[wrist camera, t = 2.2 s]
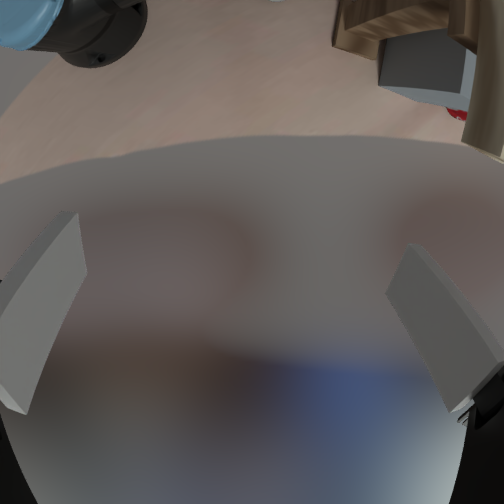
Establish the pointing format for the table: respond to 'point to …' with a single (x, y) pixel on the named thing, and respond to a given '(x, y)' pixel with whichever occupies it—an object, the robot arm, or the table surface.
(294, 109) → the table surface
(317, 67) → the table surface
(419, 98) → the grey block
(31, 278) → the robot arm
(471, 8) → the walnut stand
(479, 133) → the pale wooden bar
